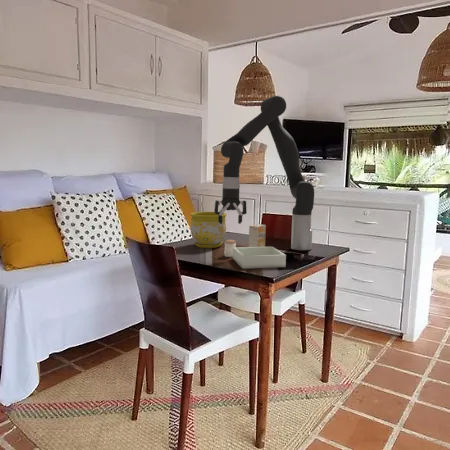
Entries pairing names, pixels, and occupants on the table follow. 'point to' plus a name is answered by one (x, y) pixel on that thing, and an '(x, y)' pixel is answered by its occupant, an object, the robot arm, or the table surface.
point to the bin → (259, 257)
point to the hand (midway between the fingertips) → (230, 223)
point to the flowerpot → (207, 229)
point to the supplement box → (257, 235)
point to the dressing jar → (229, 247)
